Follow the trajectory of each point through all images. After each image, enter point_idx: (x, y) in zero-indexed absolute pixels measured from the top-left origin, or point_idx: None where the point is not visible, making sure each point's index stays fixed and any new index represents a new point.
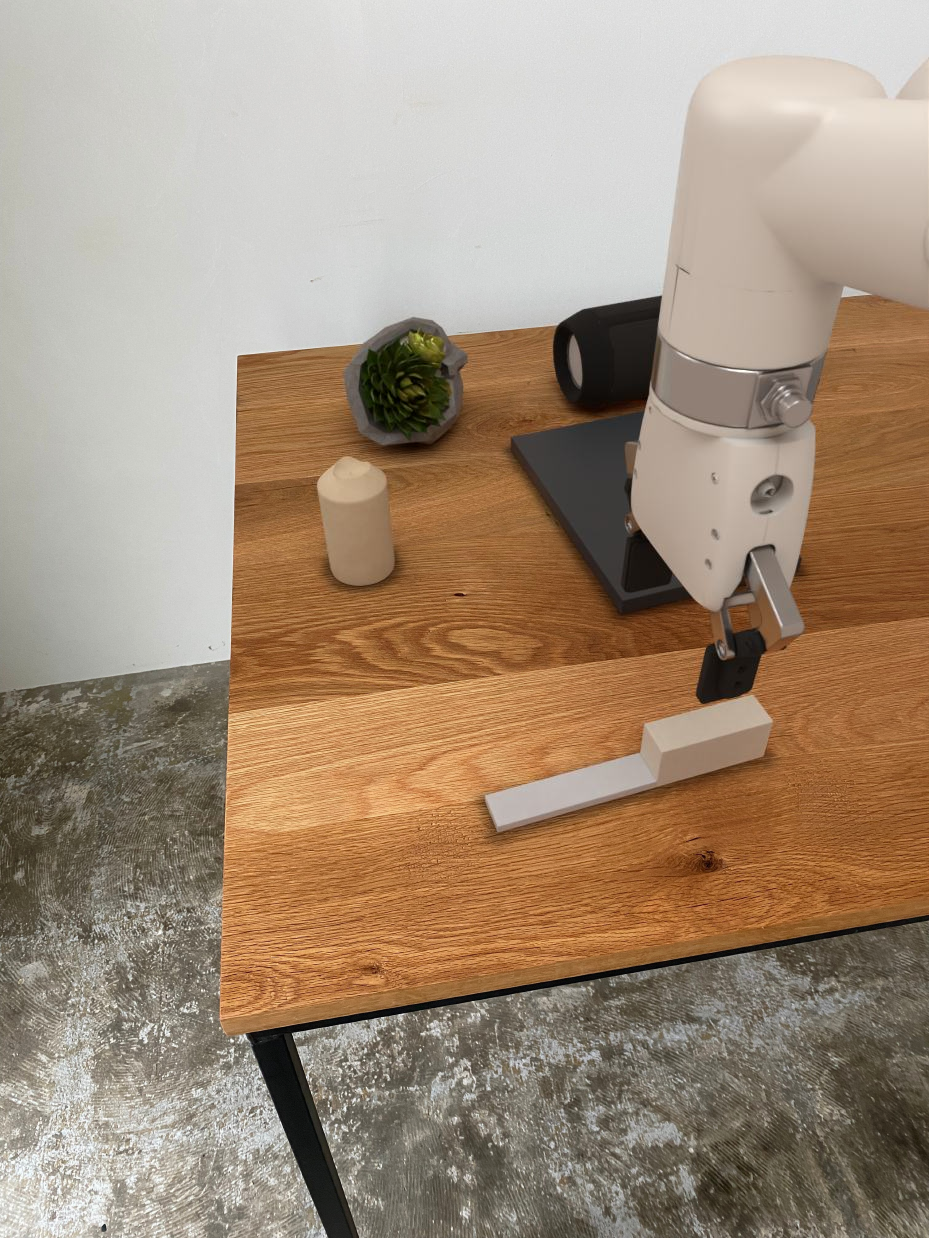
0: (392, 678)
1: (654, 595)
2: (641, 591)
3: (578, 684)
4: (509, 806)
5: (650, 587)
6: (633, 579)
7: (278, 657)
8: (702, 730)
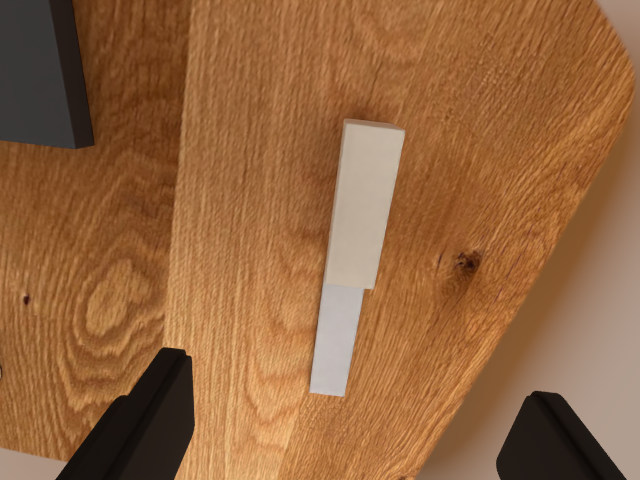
0: None
1: (69, 92)
2: (58, 110)
3: (202, 254)
4: (329, 383)
5: (191, 391)
6: (179, 459)
7: None
8: (368, 229)
